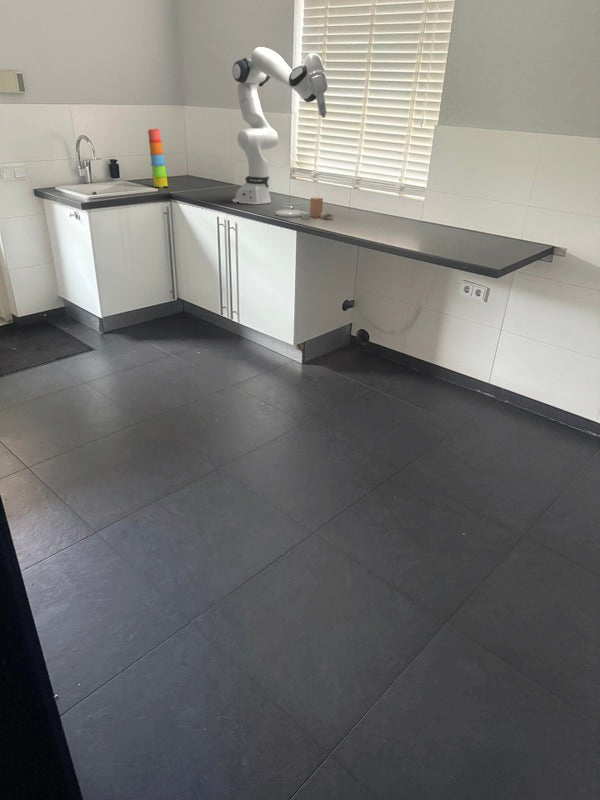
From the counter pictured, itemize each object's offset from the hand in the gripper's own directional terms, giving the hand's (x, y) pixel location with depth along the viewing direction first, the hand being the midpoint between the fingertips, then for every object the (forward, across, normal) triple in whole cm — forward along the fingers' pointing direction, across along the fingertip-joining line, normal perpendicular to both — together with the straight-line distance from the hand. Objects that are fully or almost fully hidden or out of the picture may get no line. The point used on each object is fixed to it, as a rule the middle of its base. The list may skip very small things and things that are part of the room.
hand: (322, 110), depth 267 cm
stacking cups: (-39, -85, -111) cm, 145 cm away
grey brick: (+37, -29, -18) cm, 50 cm away
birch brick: (+40, -30, -8) cm, 50 cm away
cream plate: (+30, -34, -26) cm, 52 cm away
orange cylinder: (+34, -35, -13) cm, 50 cm away
